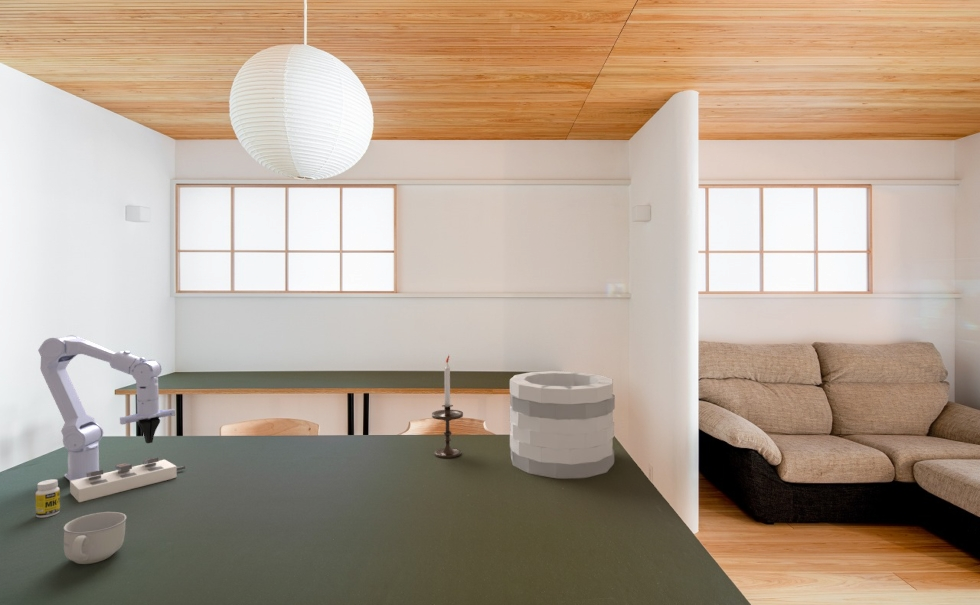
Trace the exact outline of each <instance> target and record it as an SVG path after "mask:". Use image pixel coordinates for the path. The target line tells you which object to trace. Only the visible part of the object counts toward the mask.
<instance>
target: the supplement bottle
mask: <svg viewBox="0 0 980 605" xmlns="http://www.w3.org/2000/svg"><path fill="white" fill-rule="evenodd" d="M58 481H59V480H58V479H53V478H51V479H46V480H45V479H44V480H42V481H40V482H38V483H37V491H36V492H35V517H37V518H39V519H40V518H42V519H43V518H49V517H52V516H55V515H57V514H59V513H60V510H61V501H60V500H61V497H60V496H61V492H60V491H61V490H60V487H59V486H58V485H59V482H58Z"/></svg>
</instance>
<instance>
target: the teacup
mask: <svg viewBox="0 0 980 605" xmlns="http://www.w3.org/2000/svg"><path fill="white" fill-rule="evenodd" d="M126 521H127V515H126V514H125V513H123V512H117V511H103V512H97V513H90V514H86V515H82V516H79V517H77V518H74V519H72V520H70V521H69V522H66V523H65V525H64V526H63V532H64V533H63V551H64V555H65V557H66V559H68V560H70V561H72V562H74V563H75V564H79V565H90V564H96V563H99V562H102V561H104V560H106V559H109V558H111V556H113V555H114V554H115V553H116V552H118V551H119V549H120V548H121V547H122V546H123V544H124V541H125V534H126Z"/></svg>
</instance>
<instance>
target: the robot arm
mask: <svg viewBox="0 0 980 605" xmlns="http://www.w3.org/2000/svg"><path fill="white" fill-rule="evenodd" d="M37 351H38V353H39V355H40V371H41V373H42V376H43V378H44V380H45V382H46V385H47V387H48V389H49V391H50V393H51V395H52V397H53V400H54V402H55V405H56V406H57V408H58V411H59V412H60V415H61V417H62V419H63V421H64V424H63V426H62V428H61V431H60V432H61V434H62V444H63V446H64V447H65V449H67V452H68V454H67V473H65V474H64V477H65V478H66V479H67V480H68V481H69V482H70V481H72V480H76V479H81V478H85V477H87V474H86V473H89V472H93V471H99V470H100V459H99V458H100V455H99V454H100V452H99V450H100V449H99V448H100V447H99V444H100V441H101V439H102V438H103V436H104V429H103V427H102V425H101V424H98V423H97V421H96V420H95V418H94V417H92V416H90V415H88V414H87V412H86V410H85V408H84V406H83V404H82V401H81V399H80V397H79V395H78V394H77V391H76V389H75V387H74V385H73V383H72V381H71V378H70V376H69V374H68V372H67V369H66V368H67V367H68V364H70V362H71V361H72V360H73V359H74V358H75V357H76V356H78V355H84V356H87V357H91V358H94V359H98V360H101V361H102V362H106V363H109V366H110V368H111V369H114V370H116V371H119V372H123V373H124V374H127V375H130V376H132V377H133V379H134V380H135V382H136V383H135V384H136V412H137V413H134V414H130V415H126V416H120V417H119V424H120V425H126V424H130V423H137V425H138V427H139V428H140V430H141V432H142V435H143V437H144V438H143V439H144V441H145V443H146V444H153V441H154V437H155V435H156V434H155V433H156V431H157V428H158V427H159V424H160V423H161V419H160V418H166V417H174V416H176V409H175V408H170V409H169V408H168V409H160V399H159V397H160V396H159V375H161V373H162V365H161V363H159V362H158V361H156V360H155V359H148V360H146V358H145V357H143V356H141V357H139V356H136V355H134V354H131V351H129V350H124V351H122V350H120V351H118V352H116V351H115V352H114V351H112V350H110V349H107V348H105V347H103V346H101V345H99V344H96V343H94V342H92V341H89V340H88V339H86V338H83V337H79V336H77V335H74V334H73V335H72V334H71V335H67V336H60V337H49V338H47V339H45V340H44V341H43V342H42V343H41V345H40V347H38V350H37Z"/></svg>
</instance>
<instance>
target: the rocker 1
mask: <svg viewBox="0 0 980 605" xmlns="http://www.w3.org/2000/svg"><path fill="white" fill-rule="evenodd" d="M103 473H104V470H103V469H101V470H100V469H99V471H93V472H89V473H86V474H87V477H93V476H97V475H102V474H103Z"/></svg>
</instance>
